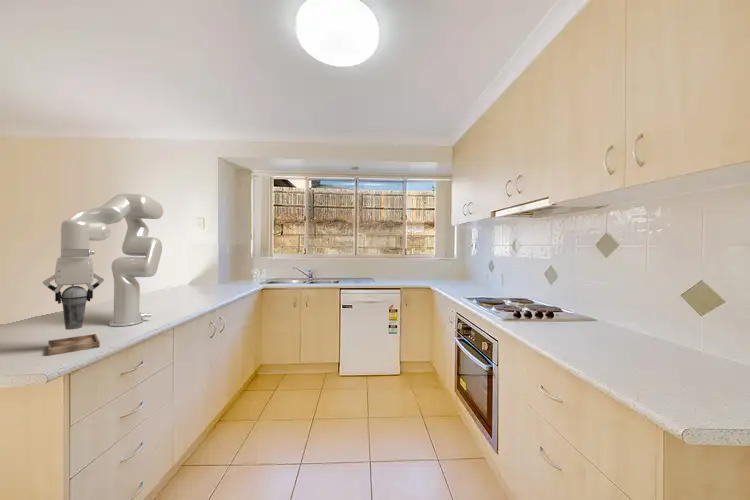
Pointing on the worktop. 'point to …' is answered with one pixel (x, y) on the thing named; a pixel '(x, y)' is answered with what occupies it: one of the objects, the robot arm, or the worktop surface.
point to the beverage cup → (74, 306)
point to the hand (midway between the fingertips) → (74, 301)
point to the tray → (72, 344)
